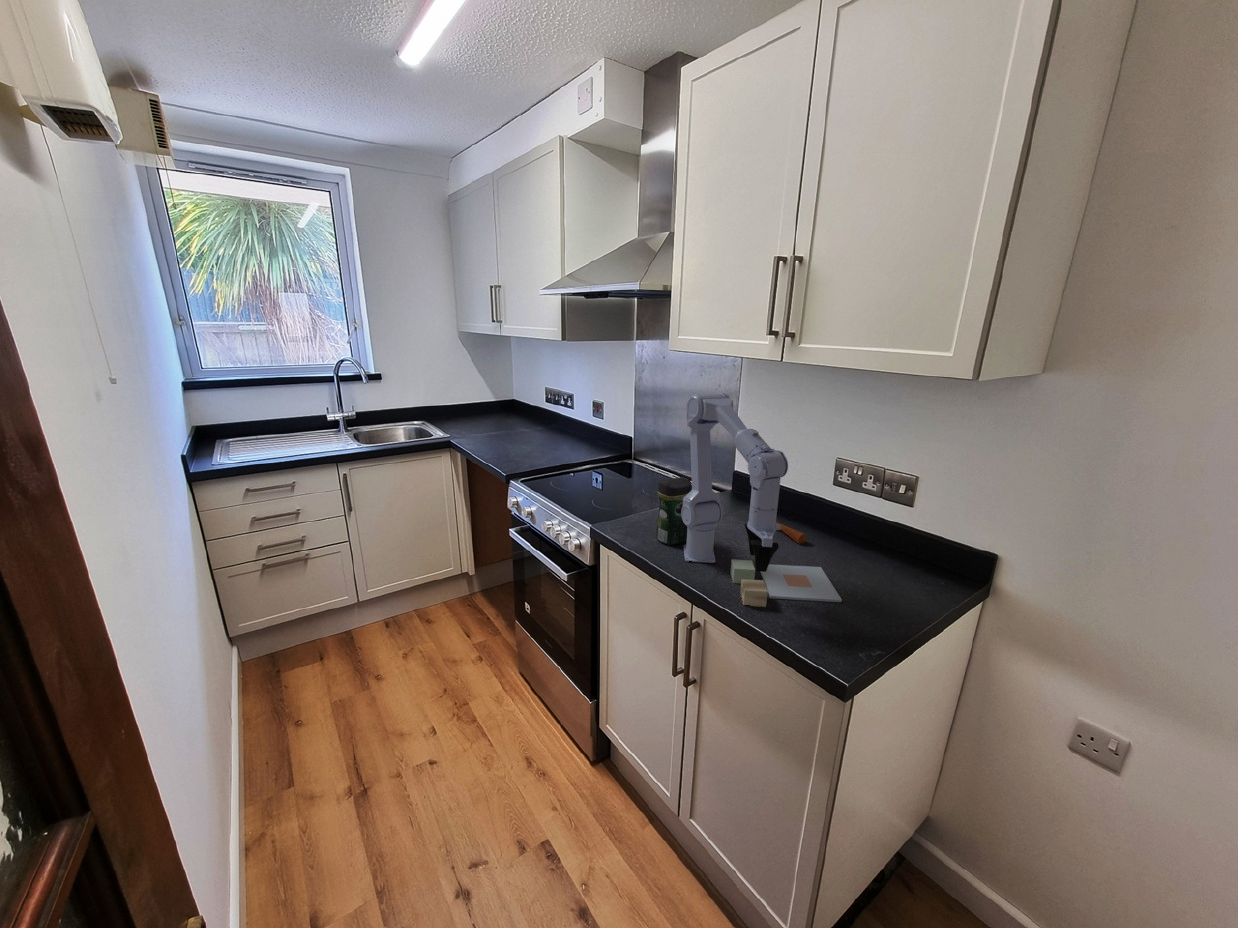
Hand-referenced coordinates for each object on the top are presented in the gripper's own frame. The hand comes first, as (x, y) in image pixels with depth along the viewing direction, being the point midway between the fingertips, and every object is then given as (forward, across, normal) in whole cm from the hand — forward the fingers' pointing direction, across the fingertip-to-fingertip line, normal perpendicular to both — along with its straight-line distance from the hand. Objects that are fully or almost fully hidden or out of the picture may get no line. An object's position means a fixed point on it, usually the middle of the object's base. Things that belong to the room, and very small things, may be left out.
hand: (757, 562), depth 114 cm
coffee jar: (+10, +31, +18) cm, 37 cm away
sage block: (+10, +10, +1) cm, 14 cm away
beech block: (+10, 0, 0) cm, 10 cm away
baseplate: (+9, +9, -12) cm, 18 cm away
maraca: (+10, +41, -14) cm, 44 cm away
